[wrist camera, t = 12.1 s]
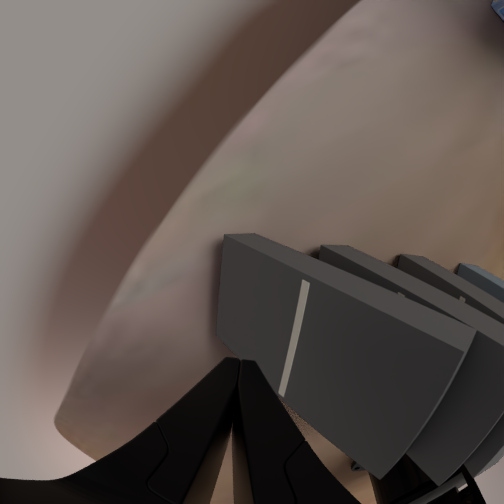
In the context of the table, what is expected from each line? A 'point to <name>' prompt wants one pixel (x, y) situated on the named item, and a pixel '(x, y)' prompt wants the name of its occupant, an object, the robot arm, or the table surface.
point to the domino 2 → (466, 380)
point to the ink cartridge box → (498, 7)
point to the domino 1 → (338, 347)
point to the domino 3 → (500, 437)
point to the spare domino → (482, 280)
